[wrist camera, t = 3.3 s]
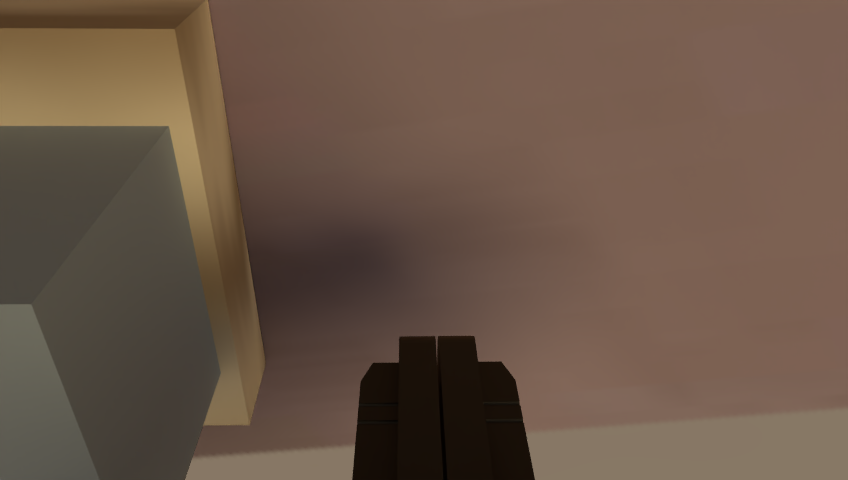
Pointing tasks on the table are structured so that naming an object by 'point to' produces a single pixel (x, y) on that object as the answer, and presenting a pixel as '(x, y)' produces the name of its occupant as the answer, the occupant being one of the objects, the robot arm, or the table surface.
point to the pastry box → (99, 307)
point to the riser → (149, 106)
